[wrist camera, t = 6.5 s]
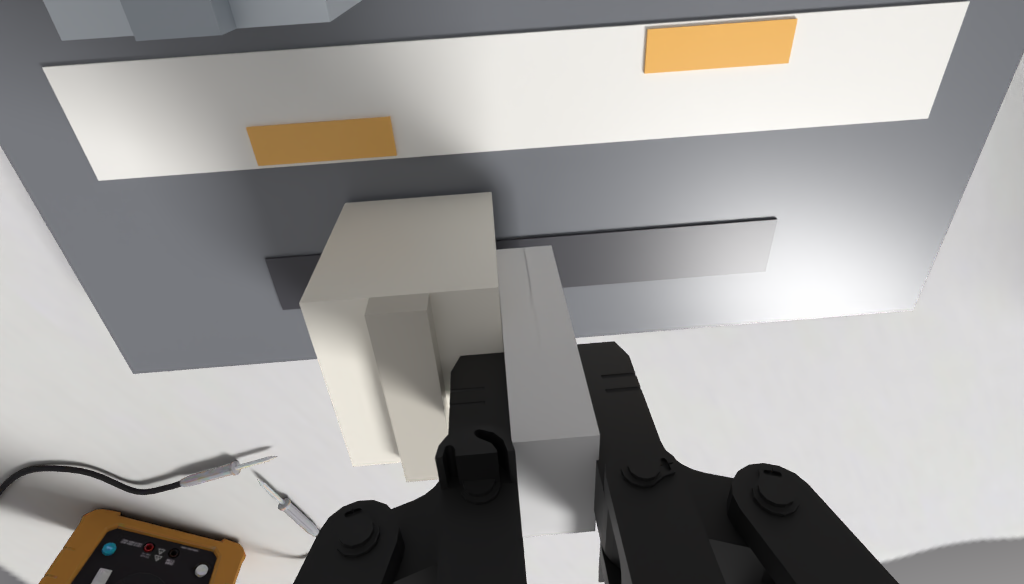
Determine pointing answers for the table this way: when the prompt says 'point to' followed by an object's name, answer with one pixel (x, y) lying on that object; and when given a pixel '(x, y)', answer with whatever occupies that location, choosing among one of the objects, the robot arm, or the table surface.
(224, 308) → the switch board
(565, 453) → the robot arm
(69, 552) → the multimeter
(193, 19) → the cube with side tab
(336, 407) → the cream tab
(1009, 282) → the table surface
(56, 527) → the table surface
